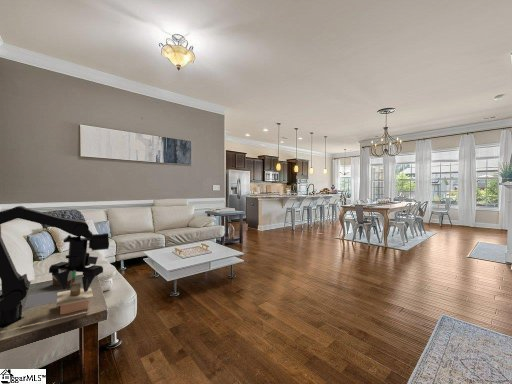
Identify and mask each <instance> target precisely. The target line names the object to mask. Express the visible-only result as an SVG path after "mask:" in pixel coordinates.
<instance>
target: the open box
mask: <svg viewBox="0 0 512 384" xmlns="http://www.w3.org/2000/svg"><path fill="white" fill-rule="evenodd" d="M89 301H90V300H86V301H81V302H76V303H71V304H67V305H62V306H59V307H60V308H59V309H60V310H59V313H60V314H59V315H64V314H65V315H66V314H70V313H74V312H78V311H82V310H86V309H89Z"/></svg>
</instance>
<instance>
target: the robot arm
mask: <svg viewBox="0 0 512 384" xmlns="http://www.w3.org/2000/svg"><path fill="white" fill-rule="evenodd" d="M17 219H20V220H25V221H28V222H32V223H36V224H41V225H44V226H49V227H52V228H55V229H56V228H57V229H60V230H61V231H64V232H65V233H66V234H68V235H67V236H66V237H65V238H64V239H63V243H68V254H67V255H65V259H67V262H66V261H60V262H57V263H54V264H51V265H50V266H49V268H48V273H49V274H51V276H52V275H53V276H54V277H55V278H56V279H57V281H58V282H59V284H60V285H59V286H60V287H61V289H63V290H64V289H66V288H67V287H68V286H67V281H68V274H69V272H70V271H75V272H76V273H82V277H81V281H82V288H83V289H84V292H86V291H88V288H89V287H91V284H92V282H93V281H94V279H95V277H98V276H99V275H101V274H102V273H104V267H103V266H102V265H96V264H97V261H98V259H99V258H98V257H97V256H91V255H90V253H89V252H87V251H88V249H90V250H91V251H92V252H93V251H94V252H95V251H102V250H109V247H110V241H109V240H110V239H109V233H108V232H104V233H94V234H93V232H92V231H91V230H90V229H89V224H88V223H87V222H86V221H85V220H83V219H76V218H64V217H60V216H57V215H54V214H50V213H46V212H43V211H42V212H41V211H38V210H35V209H31V208H27V207H25V206H23V205H17V206H14V207H12V208H8V209H4V210H2V211H0V283H1V294H0V329H4V328H7V327H9V326H11V325H12V324H15V323H17V322H19V321H21V320H23V319H25V317H24V316H22V314H23V304H22V301H24V299H25V298H27V296H28V292H29V290H30V289H29V288H30V286H31V281H30V280H29V279H28V274H27V273H24V274H22V275H21V274H20V273H19V272H18V271H17V268H16V266H15V264H14V262H13V260H12V257H11V255H10V253H9V251H8V248H7V247H6V245H5V242H4V240H3V238H2V226H1V225H2V224H6V223H7V222H11V221H14V220H17Z"/></svg>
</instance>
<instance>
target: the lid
mask: <svg viewBox="0 0 512 384" xmlns="http://www.w3.org/2000/svg"><path fill="white" fill-rule="evenodd" d="M81 285H82V283H81V282H75V283H74V284H72V285H71V287H70V289H69V290H68V289H67V291H62V292H57V302H56V307H60V306H62V305H67V304H71V303H76V302H81V301H86V300H89V301H90V300H94V295H93V290H92V286H89V288H88V291H86V292H84V289H83V287H81Z"/></svg>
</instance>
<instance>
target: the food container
mask: <svg viewBox="0 0 512 384" xmlns="http://www.w3.org/2000/svg"><path fill="white" fill-rule="evenodd" d="M51 276H52V278H51V279H52V281H51V284H52V285H54V286H61V285H60V284H59V282H58V281H57V279H56V278H55V277H54V276H53V275H52V274H51ZM76 277H77V272H75V271H70V272H69V274H68V281H67V287H69V288H71V285H72V284H74V283H76Z"/></svg>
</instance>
